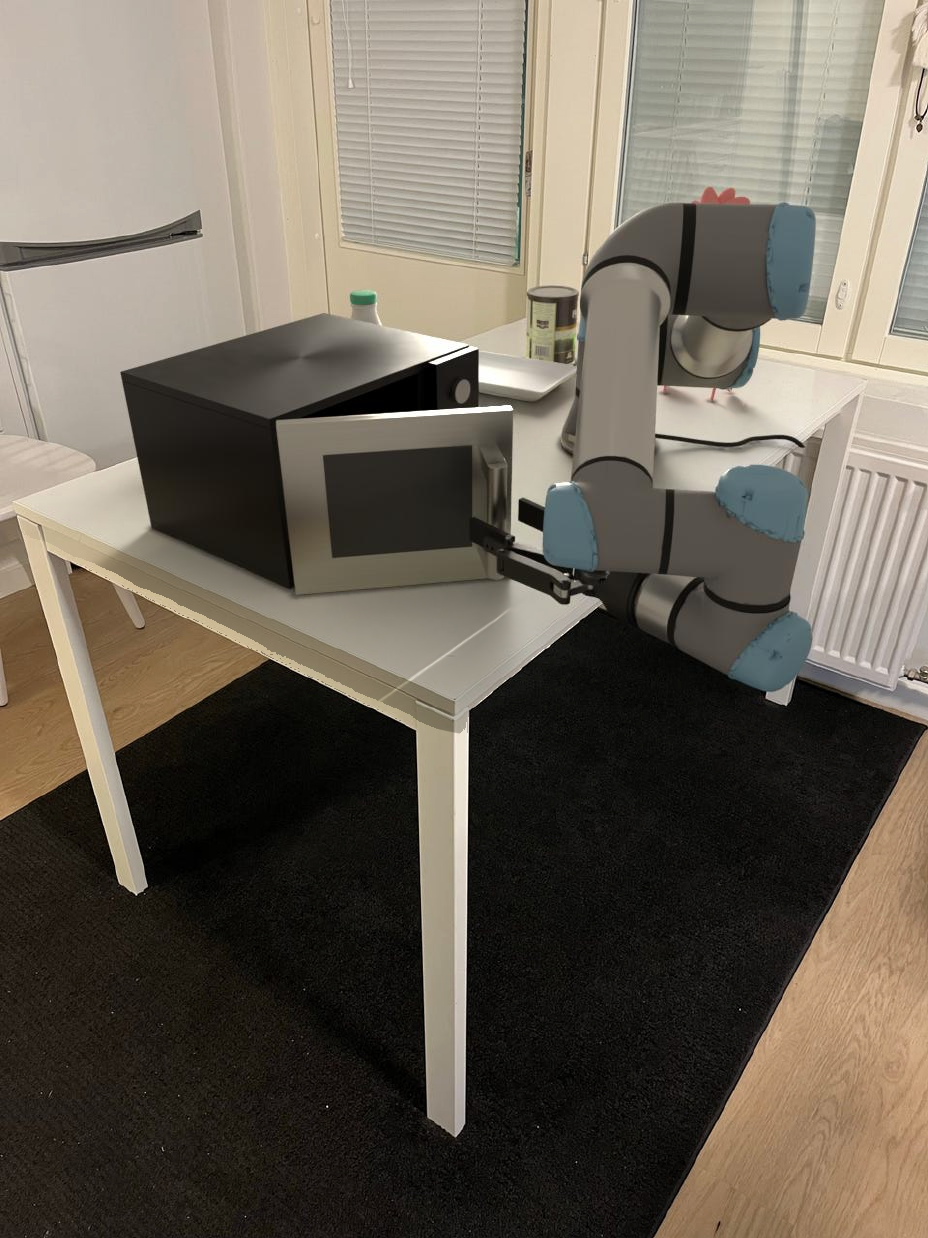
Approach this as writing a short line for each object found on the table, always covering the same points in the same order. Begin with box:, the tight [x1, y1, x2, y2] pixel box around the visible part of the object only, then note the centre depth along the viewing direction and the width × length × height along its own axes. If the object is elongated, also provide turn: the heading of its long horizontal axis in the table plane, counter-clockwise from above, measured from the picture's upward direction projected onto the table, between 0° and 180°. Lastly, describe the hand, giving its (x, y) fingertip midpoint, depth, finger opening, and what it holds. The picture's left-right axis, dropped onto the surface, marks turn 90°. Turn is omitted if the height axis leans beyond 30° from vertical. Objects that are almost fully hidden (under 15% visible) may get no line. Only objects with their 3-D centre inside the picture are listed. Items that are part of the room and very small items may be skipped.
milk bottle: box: [349, 289, 383, 326], centre depth 168 cm, size 8×8×20 cm
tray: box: [479, 349, 577, 403], centre depth 183 cm, size 17×31×4 cm, turn 60°
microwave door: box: [276, 405, 514, 596], centre depth 110 cm, size 9×27×22 cm, turn 99°
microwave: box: [119, 312, 480, 591], centre depth 130 cm, size 30×36×22 cm
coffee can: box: [525, 285, 580, 366], centre depth 191 cm, size 10×10×14 cm
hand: (496, 518), depth 109 cm, fingers open, 7 cm apart
